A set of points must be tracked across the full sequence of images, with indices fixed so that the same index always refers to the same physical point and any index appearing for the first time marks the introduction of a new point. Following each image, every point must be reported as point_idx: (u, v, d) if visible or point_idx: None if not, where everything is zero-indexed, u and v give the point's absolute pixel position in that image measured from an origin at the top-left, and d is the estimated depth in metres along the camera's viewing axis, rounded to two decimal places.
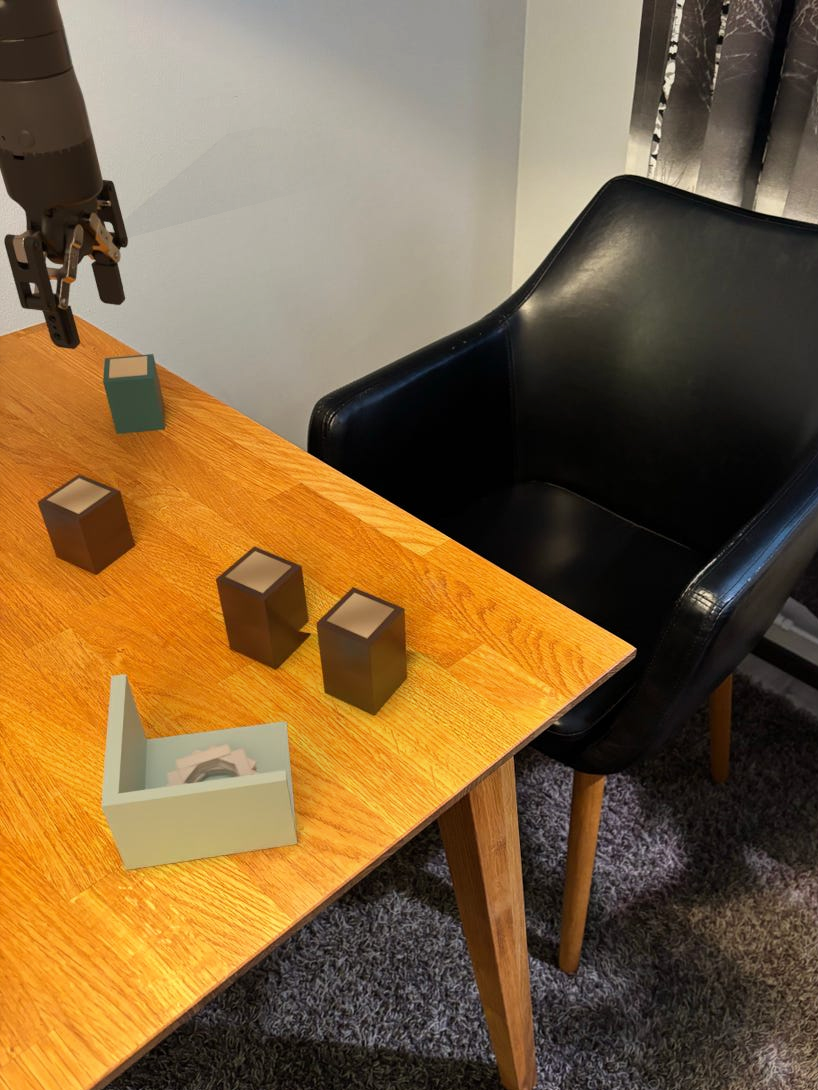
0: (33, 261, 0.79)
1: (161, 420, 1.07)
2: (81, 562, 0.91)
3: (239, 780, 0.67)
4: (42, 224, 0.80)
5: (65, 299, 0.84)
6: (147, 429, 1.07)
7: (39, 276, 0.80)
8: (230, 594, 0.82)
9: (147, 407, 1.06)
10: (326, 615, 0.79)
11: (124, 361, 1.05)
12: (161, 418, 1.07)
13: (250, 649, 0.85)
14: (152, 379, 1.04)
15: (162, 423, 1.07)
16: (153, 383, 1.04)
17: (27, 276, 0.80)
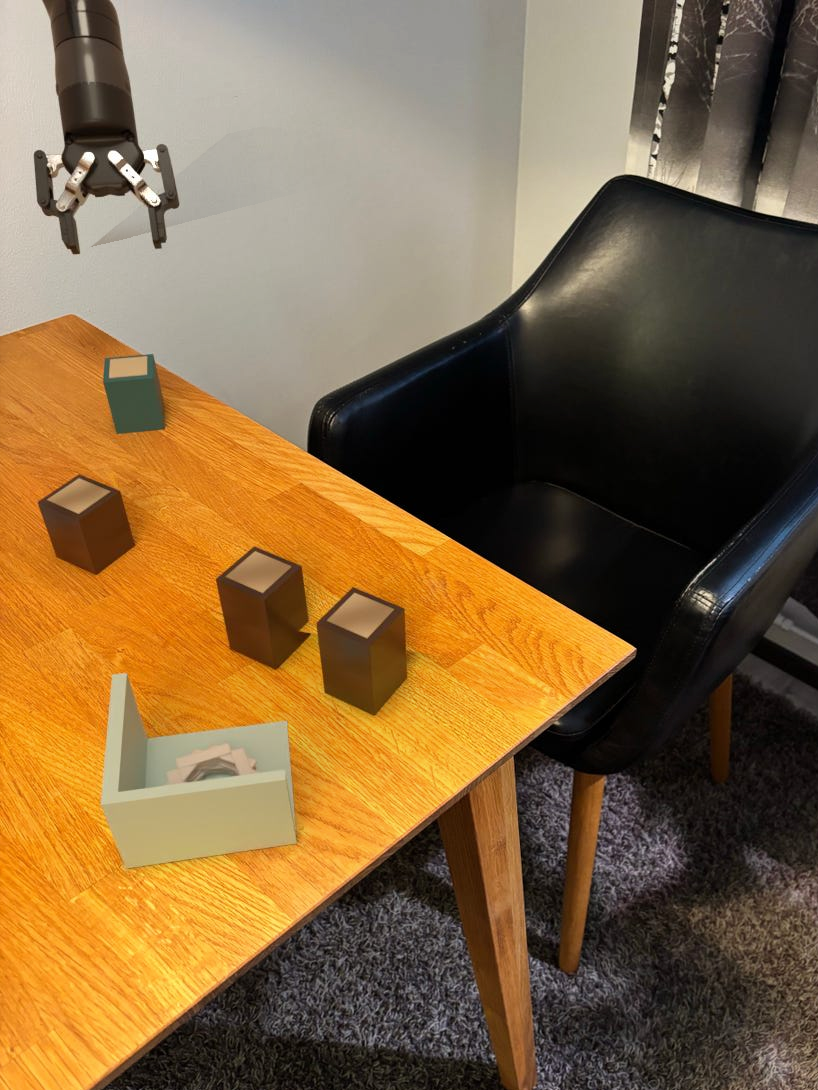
0: (35, 166, 1.05)
1: (161, 420, 1.07)
2: (81, 562, 0.91)
3: (238, 779, 0.67)
4: (63, 150, 1.06)
5: (63, 203, 1.05)
6: (147, 429, 1.07)
7: (35, 176, 1.05)
8: (230, 594, 0.82)
9: (147, 407, 1.06)
10: (326, 615, 0.79)
11: (124, 361, 1.05)
12: (161, 418, 1.07)
13: (250, 649, 0.85)
14: (152, 379, 1.04)
15: (162, 423, 1.07)
16: (153, 383, 1.04)
17: None
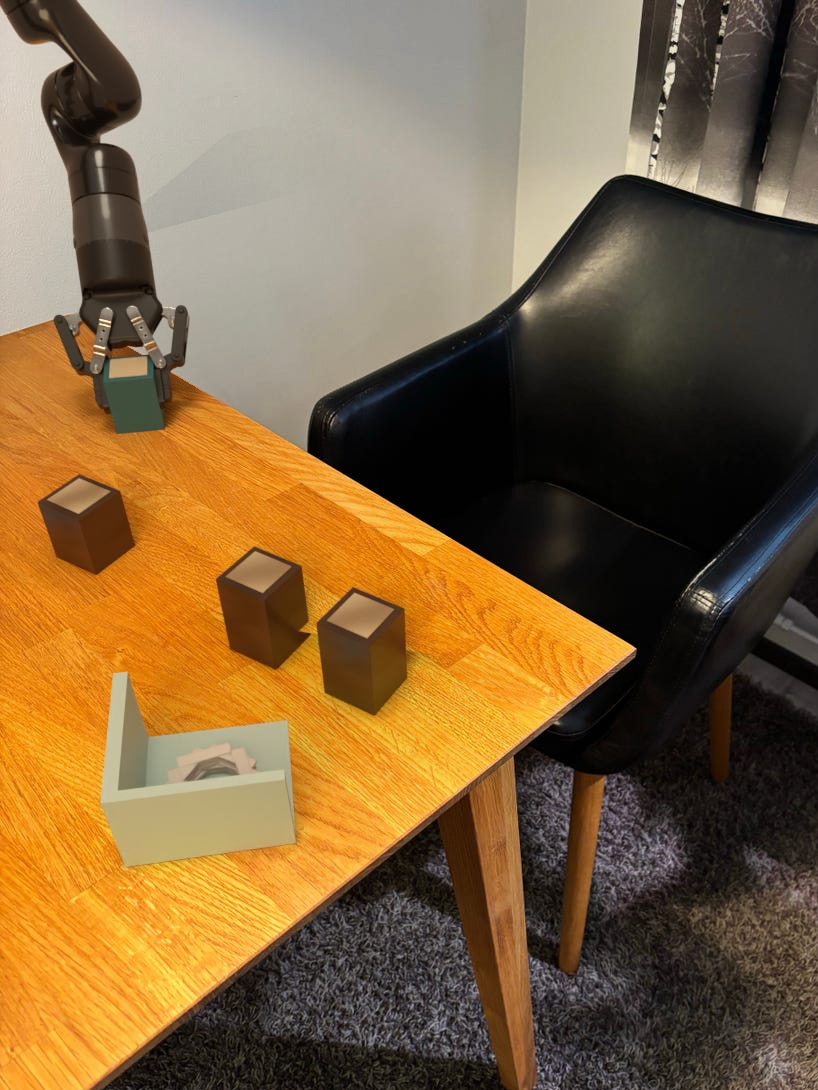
0: (58, 332, 1.04)
1: (161, 420, 1.07)
2: (81, 562, 0.91)
3: (238, 779, 0.68)
4: (81, 305, 1.05)
5: (96, 365, 1.04)
6: (147, 429, 1.07)
7: (62, 342, 1.04)
8: (230, 594, 0.82)
9: (147, 407, 1.06)
10: (326, 615, 0.79)
11: (125, 361, 1.05)
12: (161, 418, 1.07)
13: (250, 649, 0.85)
14: (152, 379, 1.04)
15: (162, 423, 1.07)
16: (153, 383, 1.04)
17: None
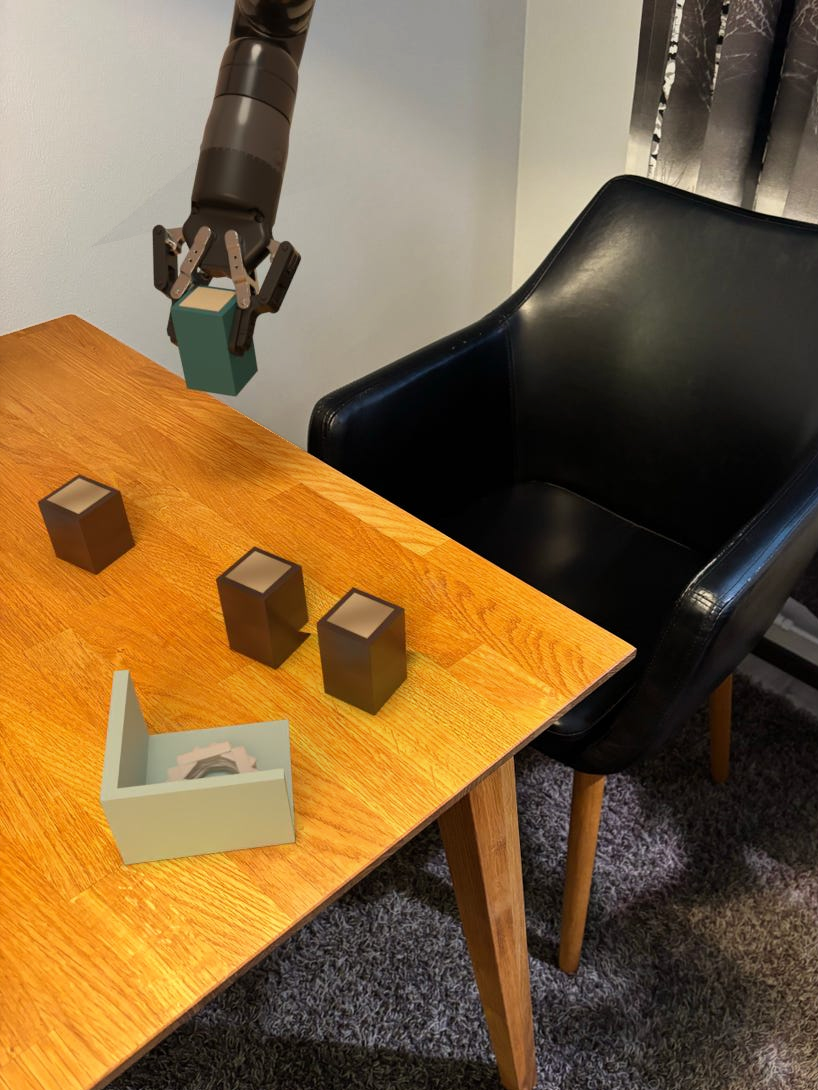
0: None
1: (229, 368, 0.91)
2: (81, 562, 0.91)
3: (237, 777, 0.68)
4: None
5: (177, 289, 0.90)
6: (215, 375, 0.92)
7: (153, 255, 0.91)
8: (230, 594, 0.82)
9: (215, 350, 0.90)
10: (326, 615, 0.79)
11: (210, 292, 0.90)
12: (230, 366, 0.91)
13: (250, 649, 0.85)
14: (221, 318, 0.87)
15: (230, 372, 0.91)
16: (222, 323, 0.88)
17: None
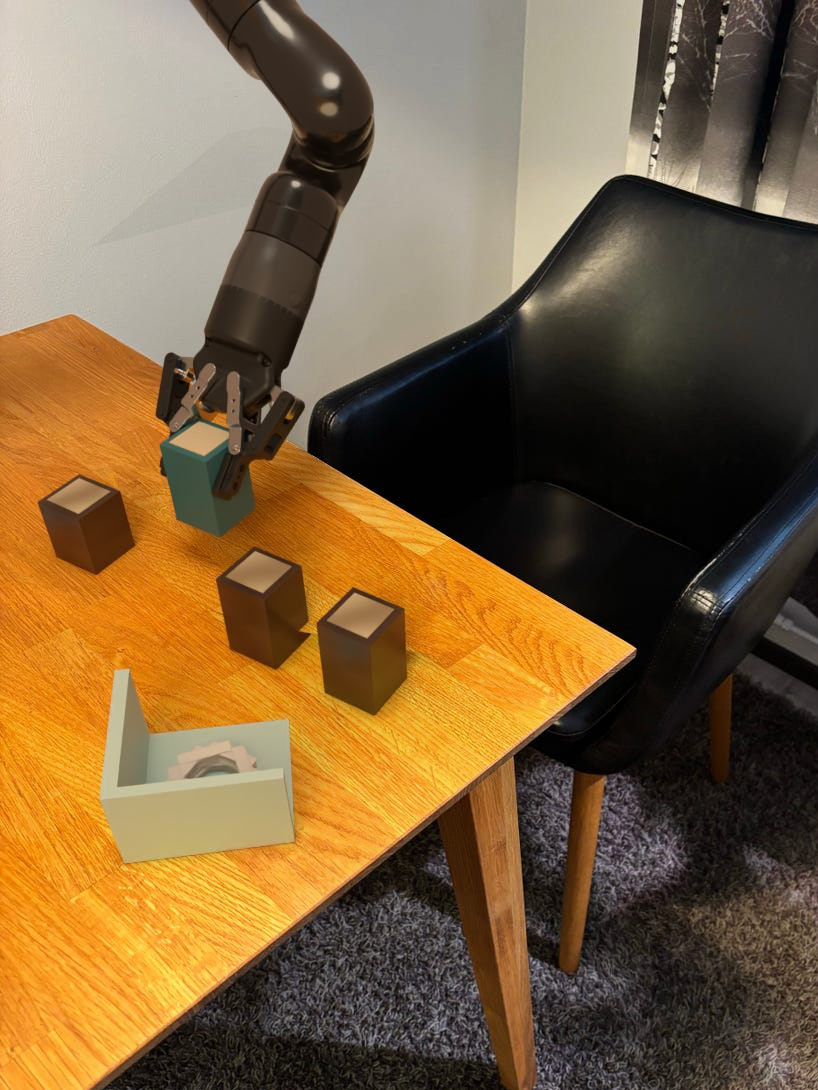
0: None
1: (213, 511, 0.86)
2: (81, 562, 0.91)
3: (237, 777, 0.68)
4: None
5: (175, 422, 0.86)
6: (200, 514, 0.87)
7: (160, 383, 0.87)
8: (230, 594, 0.82)
9: (200, 491, 0.85)
10: (326, 615, 0.79)
11: (207, 430, 0.86)
12: (214, 509, 0.86)
13: (250, 649, 0.85)
14: (204, 464, 0.83)
15: (214, 515, 0.86)
16: (205, 468, 0.83)
17: None
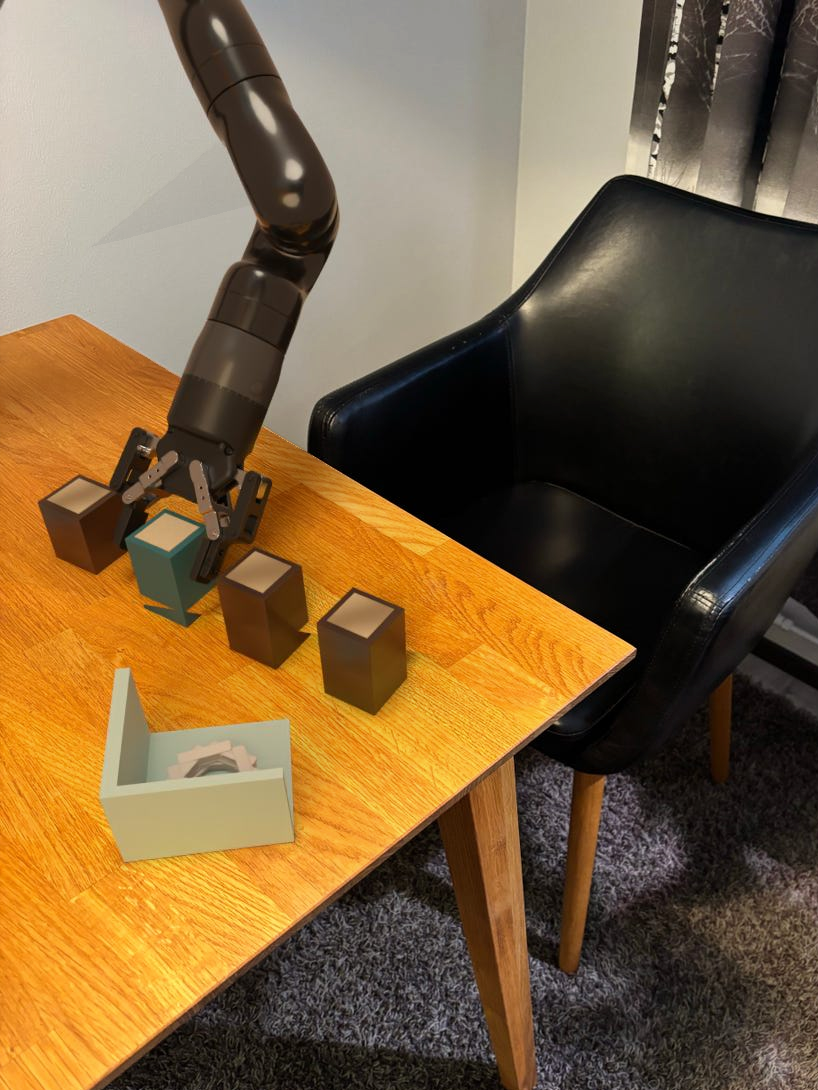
0: None
1: (179, 603, 0.87)
2: (81, 562, 0.91)
3: (236, 776, 0.68)
4: None
5: (129, 495, 0.86)
6: (167, 604, 0.88)
7: None
8: (230, 594, 0.82)
9: (166, 584, 0.86)
10: (326, 615, 0.79)
11: (173, 523, 0.86)
12: (179, 601, 0.86)
13: (250, 649, 0.85)
14: (169, 560, 0.83)
15: (180, 606, 0.87)
16: (170, 564, 0.83)
17: None
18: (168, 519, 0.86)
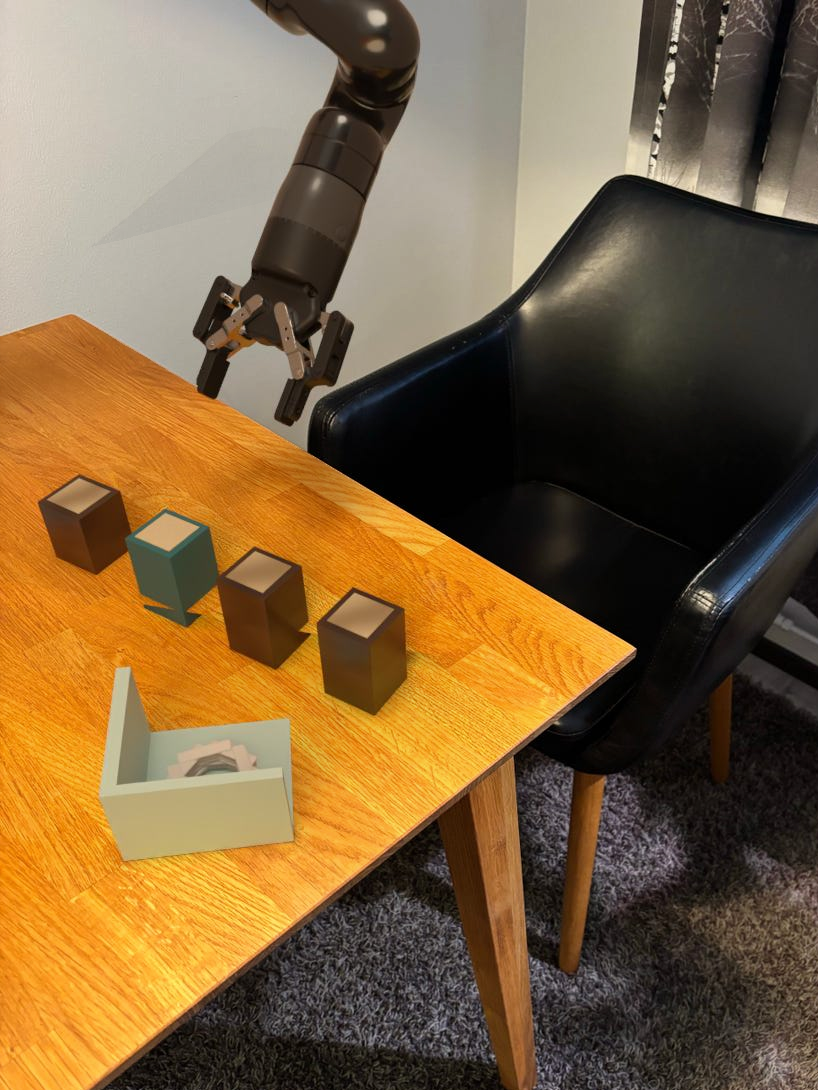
0: None
1: (179, 603, 0.87)
2: (81, 562, 0.91)
3: (236, 776, 0.68)
4: None
5: (213, 341, 0.88)
6: (167, 604, 0.88)
7: None
8: (230, 594, 0.82)
9: (166, 584, 0.86)
10: (326, 615, 0.79)
11: (173, 522, 0.86)
12: (179, 601, 0.86)
13: (250, 649, 0.85)
14: (169, 559, 0.83)
15: (180, 606, 0.87)
16: (170, 564, 0.83)
17: None
18: (168, 519, 0.87)
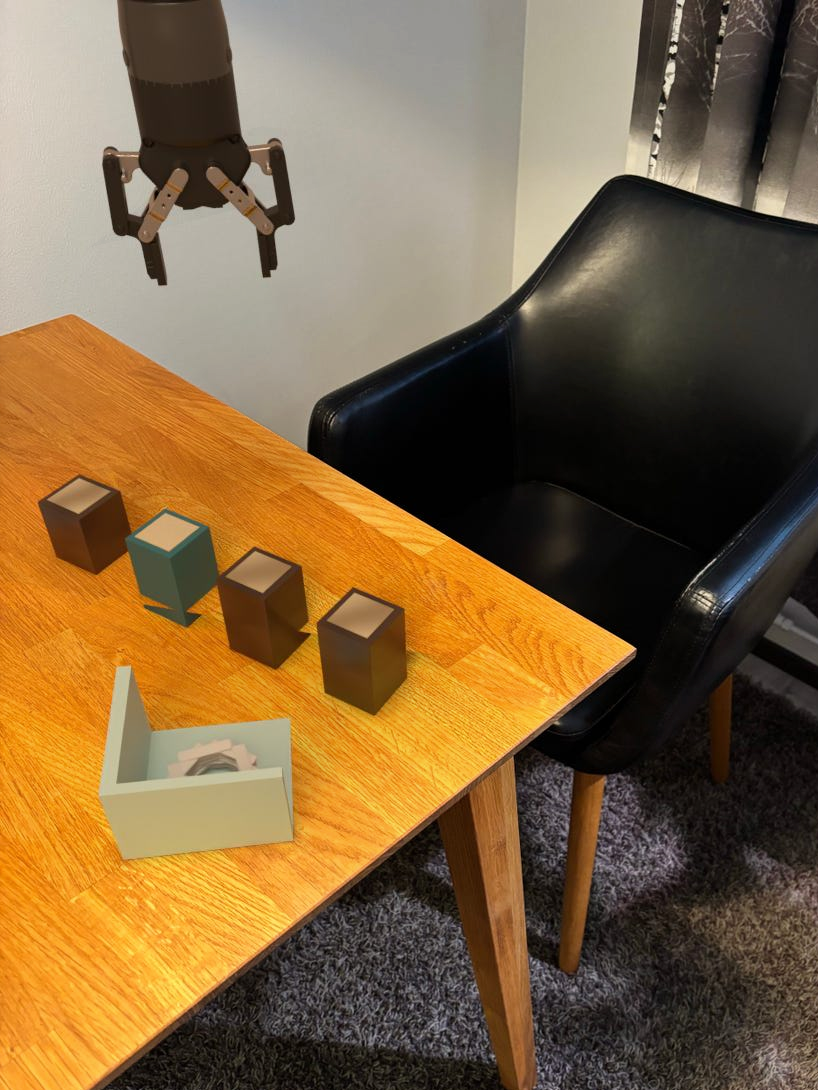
0: (104, 178, 0.76)
1: (179, 603, 0.87)
2: (81, 562, 0.91)
3: (235, 775, 0.68)
4: (140, 151, 0.76)
5: (147, 233, 0.79)
6: (167, 604, 0.88)
7: (107, 195, 0.77)
8: (230, 594, 0.82)
9: (166, 584, 0.86)
10: (326, 615, 0.79)
11: (173, 522, 0.86)
12: (179, 601, 0.86)
13: (250, 649, 0.85)
14: (169, 560, 0.83)
15: (180, 606, 0.87)
16: (170, 564, 0.83)
17: None
18: (168, 519, 0.87)
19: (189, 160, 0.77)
